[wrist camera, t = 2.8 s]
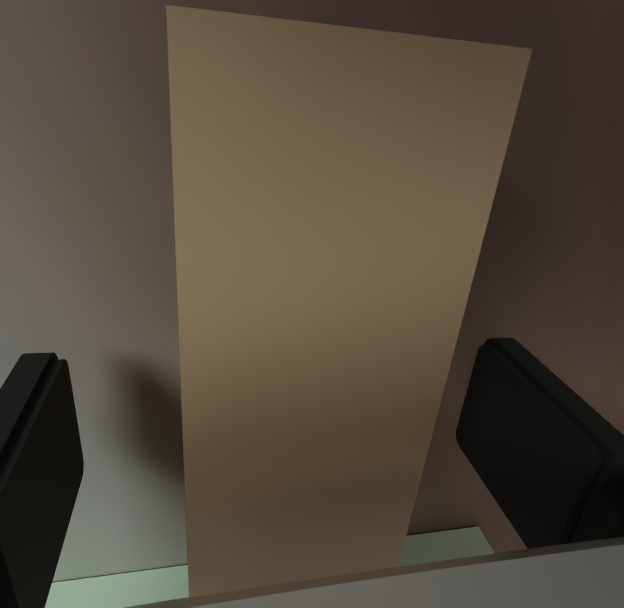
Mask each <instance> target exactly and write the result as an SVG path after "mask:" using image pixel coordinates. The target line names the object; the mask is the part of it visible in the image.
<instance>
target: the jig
mask: <svg viewBox="0 0 624 608" xmlns="http://www.w3.org/2000/svg"><path fill="white" fill-rule="evenodd" d="M487 554H495V553H494V551H493V550H492V548H491V546H490V545H489V543H488V541H487V539H486V538H485V536H484V534H483V533H482V531H481V529H480V528H479V526H477V527H470V528H462V529H455V530H447V531H440V532H432V533H424V534H417V535H409V536H406V539H405V543H404V547H403V551H402V555H401V559H400V563H399V566H398V567H401V566H408V565H415V564H422V563H429V562H436V561H444V560H451V559H458V558H465V557H472V556H480V555H487ZM186 597H189V585H188V565H183V566H175V567H168V568H160V569H153V570H145V571H138V572H130V573H122V574H115V575H107V576H100V577H92V578H85V579H77V580H70V581H62V582H55V583H52V584H51V588H50V591H49V595H48V598H47V602H46V605H45V608H124V607H130V606H136V605H142V604H148V603H154V602H160V601H167V600H173V599H179V598H186Z"/></svg>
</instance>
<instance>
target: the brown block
mask: <svg viewBox="0 0 624 608" xmlns="http://www.w3.org/2000/svg"><path fill="white" fill-rule="evenodd" d="M166 17H167V43H168V69H169V94H170V120H171V146H172V172H173V198H174V224H175V250H176V275H177V301H178V327H179V353H180V379H181V404H182V430H183V456H184V482H185V508H186V534H187V559H188V585H189V597H193V596H200V595H207V594H213V593H220V592H227V591H234V590H241V589H248V588H254V587H261V586H268V585H275V584H282V583H289V582H295V581H302V580H309V579H316V578H323V577H330V576H337V575H344V574H351V573H358V572H365V571H372V570H379V569H386V568H393V567H398V566H399V563H400V559H401V555H402V551H403V547H404V543H405V539H406V536H407V532H408V528H409V524H410V520H411V516H412V512H413V509H414V505H415V501H416V497H417V493H418V489H419V485H420V482H421V478H422V474H423V470H424V466H425V462H426V458H427V455H428V451H429V447H430V443H431V439H432V435H433V431H434V428H435V424H436V420H437V416H438V412H439V408H440V404H441V401H442V397H443V393H444V389H445V385H446V381H447V377H448V374H449V370H450V366H451V362H452V358H453V354H454V350H455V347H456V343H457V339H458V335H459V331H460V327H461V323H462V320H463V316H464V312H465V308H466V304H467V300H468V296H469V293H470V289H471V285H472V281H473V277H474V273H475V269H476V266H477V262H478V258H479V254H480V250H481V246H482V242H483V239H484V235H485V231H486V227H487V223H488V219H489V215H490V212H491V208H492V204H493V200H494V196H495V192H496V188H497V185H498V181H499V177H500V173H501V169H502V165H503V161H504V157H505V154H506V150H507V146H508V142H509V138H510V134H511V130H512V127H513V123H514V119H515V115H516V111H517V107H518V103H519V100H520V96H521V92H522V88H523V84H524V80H525V76H526V73H527V69H528V65H529V61H530V57H531V53H532V49H531V48H523V47H514V46H506V45H498V44H489V43H481V42H473V41H464V40H456V39H448V38H439V37H431V36H423V35H414V34H406V33H398V32H389V31H381V30H373V29H364V28H356V27H348V26H339V25H331V24H323V23H315V22H306V21H298V20H290V19H281V18H273V17H265V16H256V15H248V14H240V13H231V12H223V11H215V10H206V9H198V8H190V7H181V6H173V5H166Z"/></svg>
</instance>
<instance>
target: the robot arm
mask: <svg viewBox="0 0 624 608" xmlns="http://www.w3.org/2000/svg"><path fill="white" fill-rule="evenodd" d="M456 438H457V442H458V445H459V446H460V448H461V450H462V451H463V452H464V454H465V455H466V457H467V458H468V460H469V461H470V463H471V464H472V466H473V467H474V469H475V470H476V472H477V473H478V475H479V476H480V478H481V479H482V481H483V482H484V484H485V485H486V487H487V488H488V490H489V491H490V493H491V494H492V496H493V497H494V499H495V500H496V502H497V503H498V505H499V506H500V508H501V509H502V511H503V512H504V514H505V515H506V517H507V518H508V520H509V521H510V523H511V524H512V526H513V527H514V529H515V530H516V532H517V533H518V535H519V536H520V538H521V539H522V540H523V542H524V543H525V545H526V546H527V548H528V549H525V550H517V551H510V552H502V553H495V554H487V555H480V556H472V557H465V558H458V559H451V560H444V561H436V562H429V563H422V564H415V565H408V566H401V567H393V568H386V569H379V570H372V571H365V572H358V573H351V574H344V575H337V576H330V577H323V578H316V579H309V580H302V581H295V582H289V583H282V584H275V585H268V586H261V587H254V588H248V589H241V590H234V591H227V592H220V593H213V594H207V595H200V596H193V597H186V598H179V599H173V600H167V601H160V602H154V603H148V604H142V605H136V606H130V607H124V608H624V435H622V434H621V433H620V432H619V431H618V430H617V429H616V428H614V427H613V426H612V425H611V424H610V423H609V422H608V421H607V420H605V419H604V418H603V417H602V416H601V415H600V414H599V413H598V412H596V411H595V410H594V409H593V408H592V407H591V406H590V405H589V404H587V403H586V402H585V401H584V400H583V399H582V398H581V397H579V396H578V395H577V394H576V393H575V392H574V391H573V390H572V389H570V388H569V387H568V386H567V385H566V384H565V383H564V382H563V381H561V380H560V379H559V378H558V377H557V376H556V375H555V374H553V373H552V372H551V371H550V370H549V369H548V368H547V367H546V366H544V365H543V364H542V363H541V362H540V361H539V360H538V359H537V358H535V357H534V356H533V355H532V354H531V353H530V352H529V351H528V350H526V349H525V348H524V347H523V346H522V345H521V344H520V343H518V342H517V341H516V340H515V339H513V338H491V339H488V340H487V341H486V342H485V344H484V345H481V346H480V347H479V349H478V352H477V356H476V360H475V364H474V367H473V371H472V375H471V378H470V382H469V386H468V389H467V393H466V397H465V400H464V404H463V408H462V411H461V415H460V419H459V422H458V426H457V430H456ZM83 467H84V462H83V454H82V448H81V442H80V435H79V429H78V423H77V417H76V410H75V404H74V398H73V392H72V385H71V379H70V373H69V367H68V363H67V360H65V359H60V360H58V357H57V355H56V354H55V353H27V354H22V355H21V356H20V358H19V360H18V361H17V363H16V364H15V366H14V368H13V369H12V371H11V372H10V374H9V376H8V377H7V379H6V381H5V382H4V384H3V385H2V387H1V389H0V608H45V605H46V602H47V598H48V595H49V591H50V588H51V584H52V581H53V577H54V574H55V570H56V567H57V563H58V560H59V556H60V553H61V549H62V546H63V543H64V539H65V536H66V532H67V529H68V525H69V522H70V518H71V515H72V511H73V508H74V504H75V501H76V497H77V494H78V490H79V487H80V483H81V480H82V476H83Z"/></svg>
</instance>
